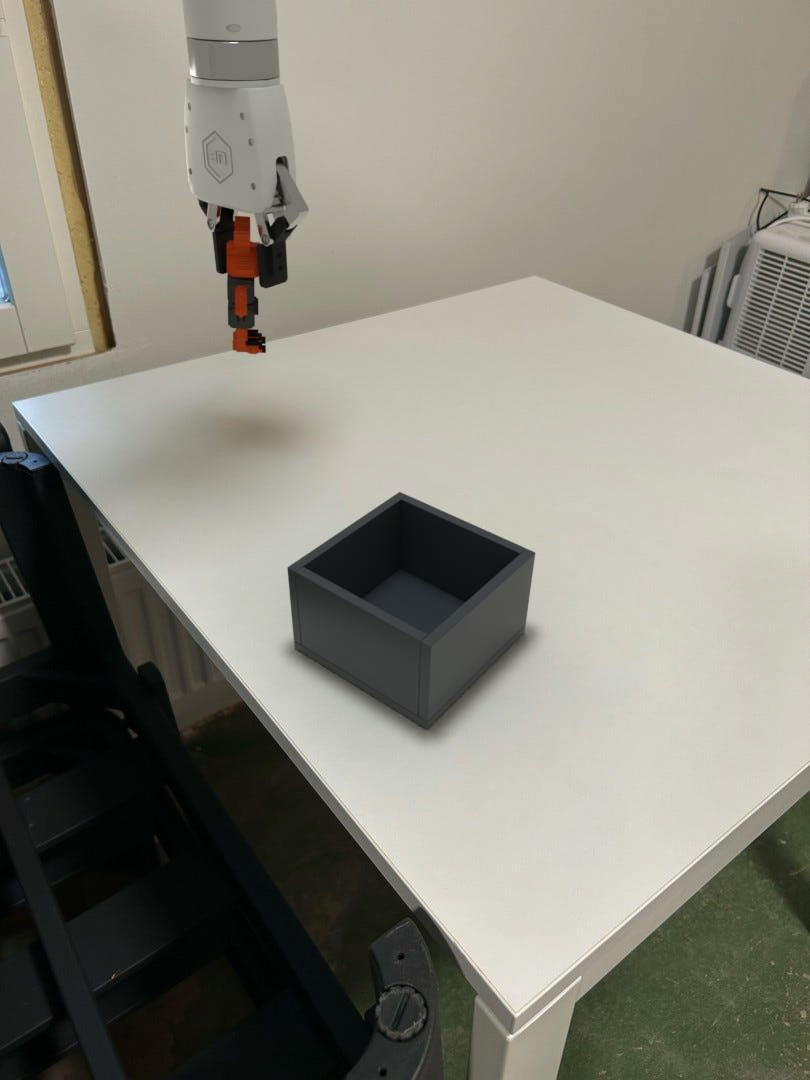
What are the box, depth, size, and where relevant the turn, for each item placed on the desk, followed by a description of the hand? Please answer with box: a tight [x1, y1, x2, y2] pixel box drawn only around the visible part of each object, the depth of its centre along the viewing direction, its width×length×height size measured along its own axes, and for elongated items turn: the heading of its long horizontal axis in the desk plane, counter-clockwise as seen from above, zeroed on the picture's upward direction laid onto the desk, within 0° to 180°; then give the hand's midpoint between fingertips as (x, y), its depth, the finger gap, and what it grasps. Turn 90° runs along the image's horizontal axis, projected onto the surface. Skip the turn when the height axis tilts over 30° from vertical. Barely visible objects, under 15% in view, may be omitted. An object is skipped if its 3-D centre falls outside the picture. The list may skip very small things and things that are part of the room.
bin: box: [286, 491, 536, 730], centre depth 61 cm, size 13×13×8 cm
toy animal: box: [226, 215, 267, 355], centre depth 80 cm, size 8×6×12 cm
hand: (251, 275), depth 80 cm, fingers closed on toy animal, 5 cm apart
